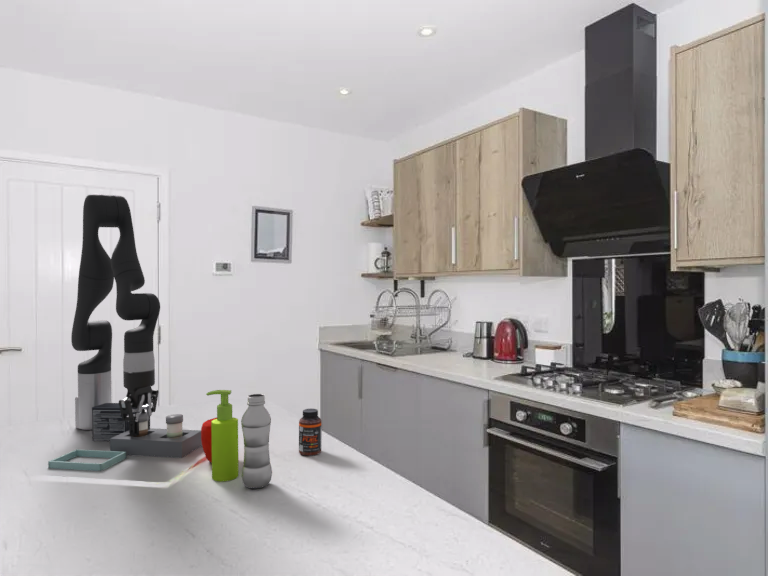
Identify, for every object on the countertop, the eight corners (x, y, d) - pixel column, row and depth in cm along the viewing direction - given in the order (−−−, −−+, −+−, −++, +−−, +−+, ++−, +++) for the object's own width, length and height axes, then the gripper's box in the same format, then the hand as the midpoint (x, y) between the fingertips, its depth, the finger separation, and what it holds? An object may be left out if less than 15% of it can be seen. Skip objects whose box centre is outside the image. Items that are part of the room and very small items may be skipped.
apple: (233, 466, 125) (232, 422, 125) (196, 467, 125) (196, 423, 125) (240, 454, 134) (240, 413, 134) (206, 455, 134) (206, 414, 133)
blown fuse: (127, 450, 134) (127, 416, 134) (137, 445, 139) (137, 412, 139) (142, 451, 134) (142, 417, 134) (152, 446, 138) (151, 413, 138)
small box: (140, 438, 149) (139, 402, 149) (126, 445, 142) (126, 407, 142) (106, 437, 150) (105, 401, 150) (91, 444, 143) (90, 407, 143)
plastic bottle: (277, 482, 115) (277, 393, 115) (261, 493, 109) (260, 400, 109) (253, 478, 117) (252, 391, 117) (235, 490, 111) (234, 397, 111)
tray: (48, 471, 122) (48, 461, 122) (76, 459, 131) (76, 449, 131) (101, 475, 120) (101, 464, 120) (126, 461, 129) (126, 451, 129)
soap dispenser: (210, 472, 121) (210, 388, 121) (240, 471, 122) (239, 387, 122) (204, 482, 115) (203, 393, 115) (235, 481, 116) (234, 392, 116)
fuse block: (110, 457, 132) (109, 419, 132) (135, 445, 142) (134, 409, 142) (182, 461, 129) (181, 422, 129) (202, 448, 139) (201, 412, 139)
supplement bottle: (300, 457, 131) (300, 413, 131) (297, 450, 137) (296, 408, 137) (323, 455, 133) (323, 411, 133) (319, 448, 139) (318, 406, 139)
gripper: (143, 364, 144) (143, 425, 144) (107, 372, 130) (108, 440, 130) (167, 364, 142) (168, 426, 143) (134, 373, 128) (135, 441, 129)
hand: (139, 432), depth 136 cm, fingers closed on blown fuse, 4 cm apart
